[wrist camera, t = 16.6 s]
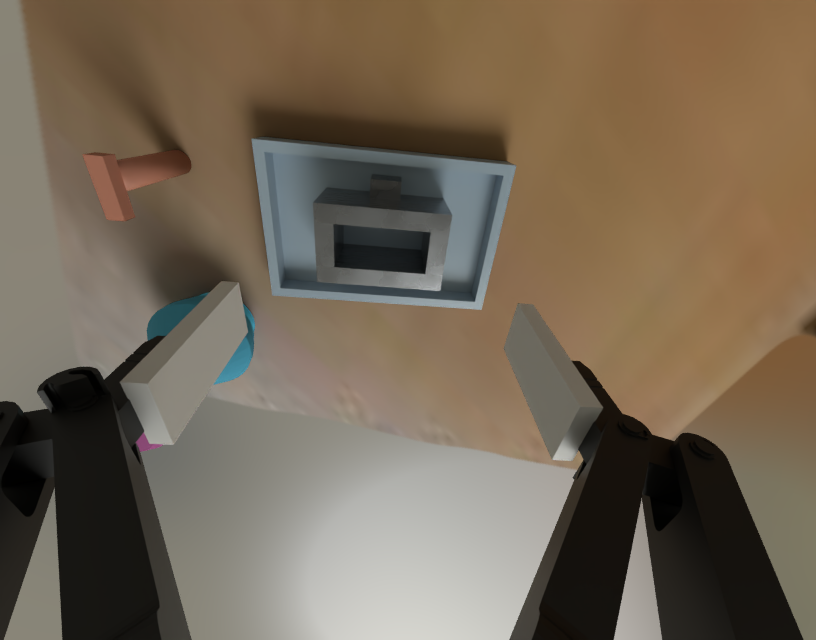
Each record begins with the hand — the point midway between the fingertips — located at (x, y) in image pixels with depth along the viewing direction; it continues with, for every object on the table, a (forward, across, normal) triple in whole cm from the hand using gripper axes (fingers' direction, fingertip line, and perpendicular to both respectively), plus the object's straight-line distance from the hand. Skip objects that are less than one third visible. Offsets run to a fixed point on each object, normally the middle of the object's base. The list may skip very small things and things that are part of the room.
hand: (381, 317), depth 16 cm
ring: (+16, 0, -1) cm, 16 cm away
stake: (+17, -17, +3) cm, 24 cm away
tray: (+17, 0, -1) cm, 17 cm away
